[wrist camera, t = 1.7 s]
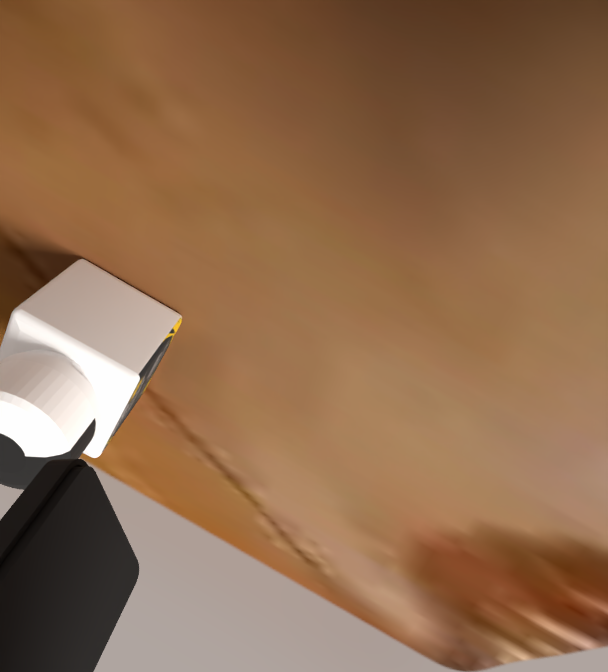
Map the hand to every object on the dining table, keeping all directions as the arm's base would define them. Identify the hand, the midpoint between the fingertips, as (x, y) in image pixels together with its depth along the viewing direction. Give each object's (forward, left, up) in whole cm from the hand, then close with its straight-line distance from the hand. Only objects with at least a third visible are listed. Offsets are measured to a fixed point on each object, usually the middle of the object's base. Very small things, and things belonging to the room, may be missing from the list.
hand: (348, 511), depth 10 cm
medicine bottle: (+19, +3, -23) cm, 30 cm away
